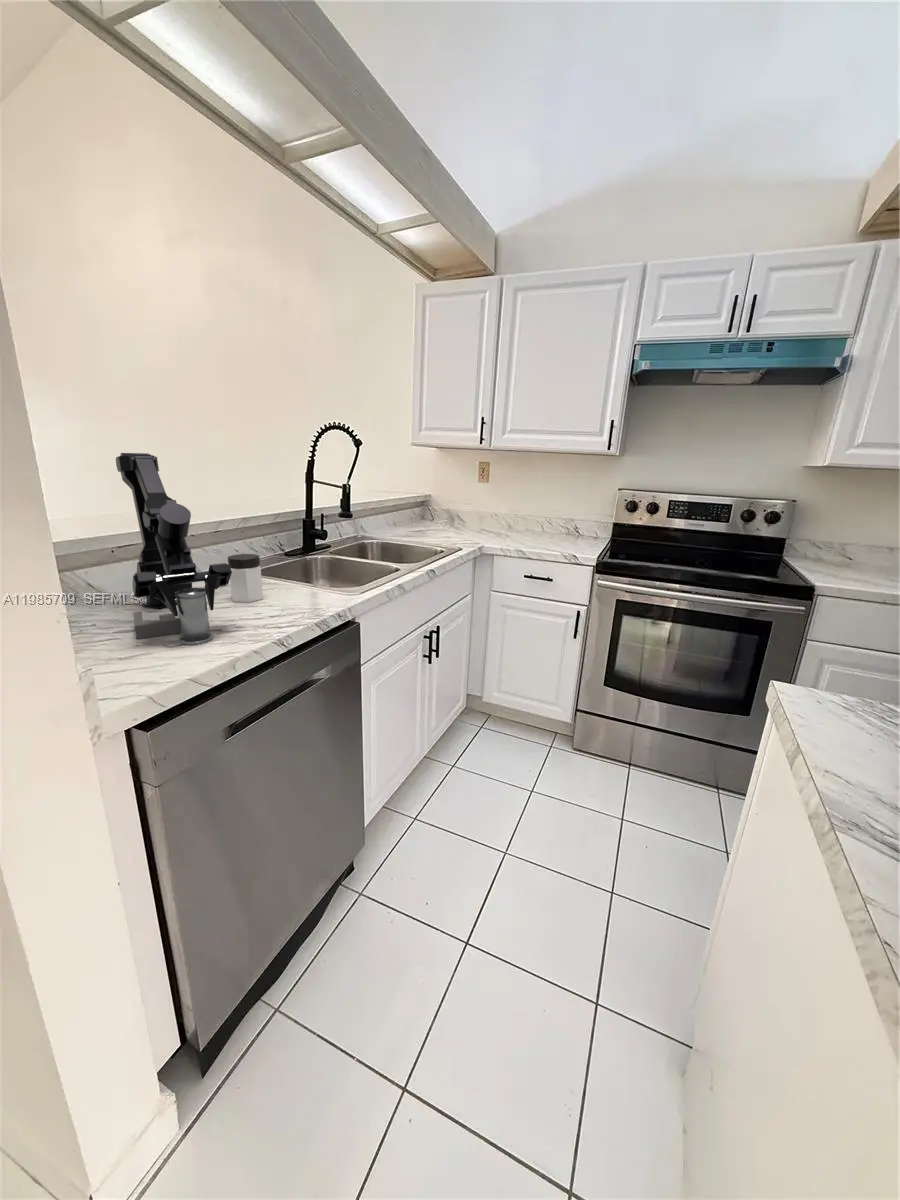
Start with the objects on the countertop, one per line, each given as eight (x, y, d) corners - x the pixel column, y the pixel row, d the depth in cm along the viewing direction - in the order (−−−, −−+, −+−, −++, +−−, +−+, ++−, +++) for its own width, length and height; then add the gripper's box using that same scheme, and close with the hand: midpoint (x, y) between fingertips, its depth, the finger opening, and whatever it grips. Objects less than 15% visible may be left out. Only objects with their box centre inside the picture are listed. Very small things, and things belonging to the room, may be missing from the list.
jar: (264, 601, 137) (261, 558, 133) (232, 604, 133) (228, 560, 130) (261, 593, 144) (257, 552, 141) (231, 596, 141) (226, 554, 138)
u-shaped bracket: (135, 624, 116) (132, 606, 115) (195, 616, 122) (193, 599, 121) (136, 639, 107) (133, 620, 106) (201, 629, 114) (198, 611, 112)
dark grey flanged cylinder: (173, 642, 106) (166, 593, 103) (197, 633, 111) (191, 586, 108) (196, 647, 103) (189, 596, 100) (219, 637, 109) (214, 589, 106)
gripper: (214, 568, 121) (233, 622, 116) (125, 578, 109) (142, 639, 104) (221, 540, 113) (242, 597, 108) (126, 548, 101) (144, 613, 96)
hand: (194, 612), depth 105 cm, fingers open, 7 cm apart
